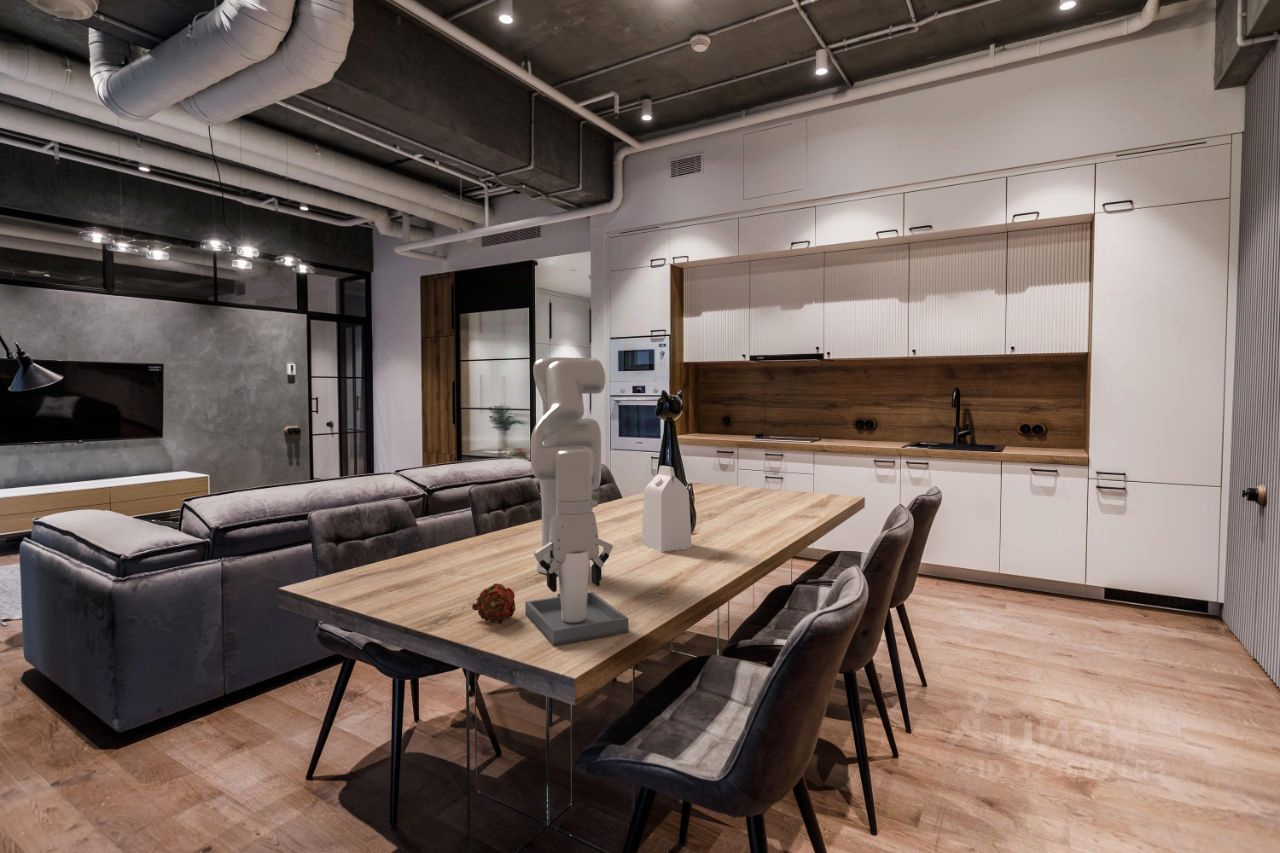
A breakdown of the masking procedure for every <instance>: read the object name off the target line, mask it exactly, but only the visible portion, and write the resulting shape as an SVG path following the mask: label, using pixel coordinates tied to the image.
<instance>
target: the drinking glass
mask: <svg viewBox="0 0 1280 853" xmlns="http://www.w3.org/2000/svg"><path fill="white" fill-rule="evenodd" d="M590 562H591V560H589V557H588V552H587V551H586V552H583V553H577V554H566V558H565V562H564V563H560V564H559V565H558V575H557V577H558V578H557V580H558V587H559V593H560V600H561V617H562V620H563V621H565V622H567V623H579V622H582V621H584V620H585V619H586V617H587V596H588V592H589V582H590V581H589V580H590V569H591V568H590V564H591V563H590Z"/></svg>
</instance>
